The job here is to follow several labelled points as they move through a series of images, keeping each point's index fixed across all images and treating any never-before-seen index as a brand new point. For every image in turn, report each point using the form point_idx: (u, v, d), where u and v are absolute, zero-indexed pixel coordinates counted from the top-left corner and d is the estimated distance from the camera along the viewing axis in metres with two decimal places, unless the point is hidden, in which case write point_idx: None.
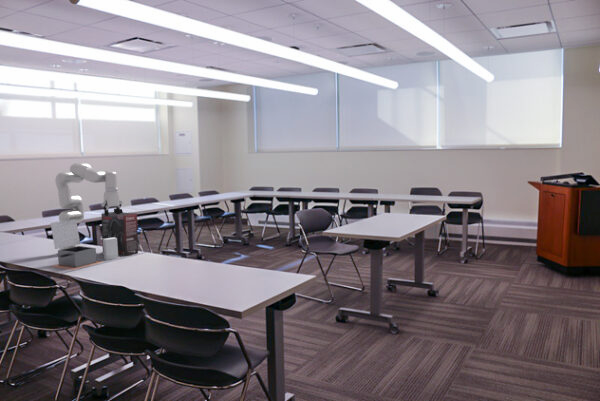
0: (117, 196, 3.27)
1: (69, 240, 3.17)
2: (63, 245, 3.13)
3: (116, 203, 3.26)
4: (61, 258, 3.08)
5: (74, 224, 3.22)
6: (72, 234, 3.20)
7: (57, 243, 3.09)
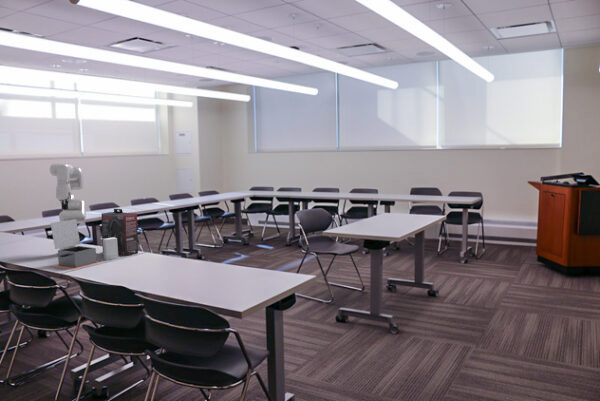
0: None
1: (69, 240, 3.17)
2: (63, 245, 3.13)
3: None
4: (61, 258, 3.08)
5: (74, 224, 3.22)
6: (72, 234, 3.20)
7: (57, 243, 3.09)
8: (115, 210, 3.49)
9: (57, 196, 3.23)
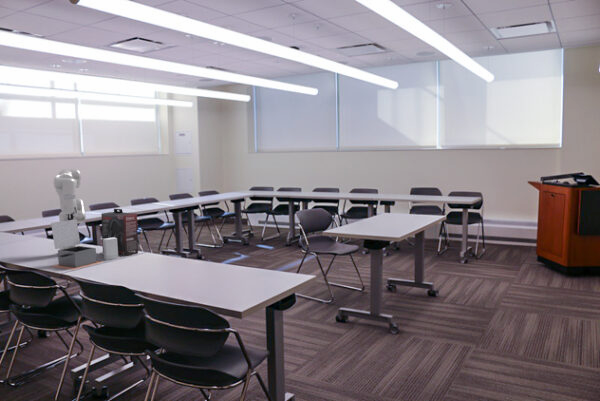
0: None
1: (69, 240, 3.17)
2: (63, 245, 3.13)
3: None
4: (61, 258, 3.08)
5: (74, 224, 3.22)
6: (72, 234, 3.20)
7: (57, 243, 3.09)
8: (115, 210, 3.49)
9: (63, 211, 3.22)
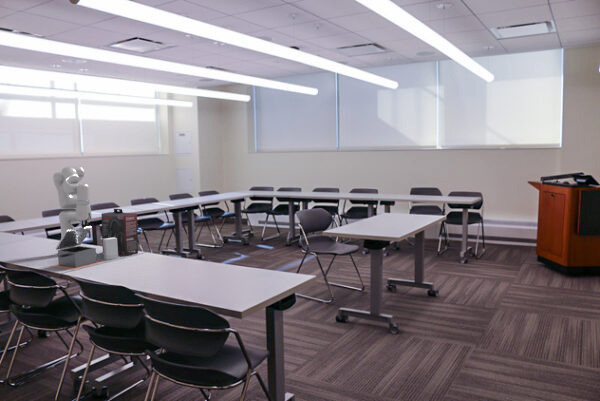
0: None
1: (72, 243, 3.16)
2: (64, 246, 3.12)
3: None
4: (61, 258, 3.08)
5: (86, 231, 3.17)
6: (78, 238, 3.17)
7: (60, 246, 3.08)
8: (115, 210, 3.49)
9: (77, 217, 3.16)
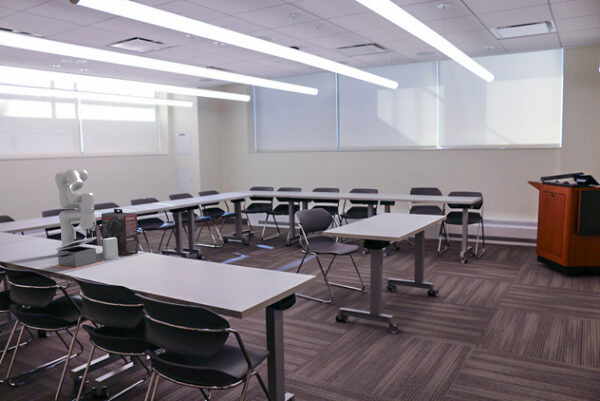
0: None
1: (73, 245, 3.15)
2: None
3: None
4: (61, 258, 3.08)
5: (91, 240, 3.16)
6: (81, 243, 3.17)
7: (61, 248, 3.08)
8: (115, 210, 3.49)
9: (81, 225, 3.15)
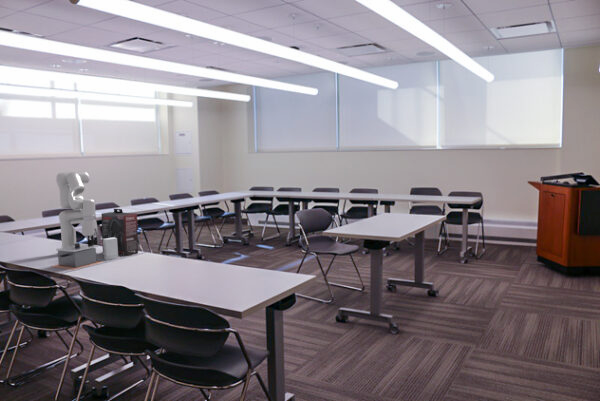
0: None
1: (73, 247, 3.15)
2: (65, 248, 3.12)
3: None
4: (61, 258, 3.08)
5: None
6: None
7: None
8: (115, 210, 3.49)
9: (83, 232, 3.15)
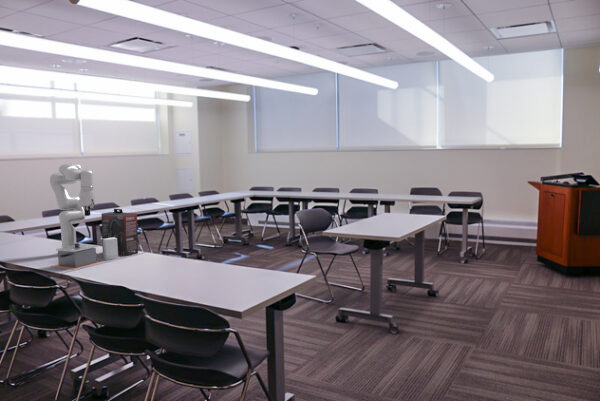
0: None
1: (73, 247, 3.15)
2: (65, 248, 3.12)
3: None
4: (61, 258, 3.08)
5: None
6: None
7: None
8: (115, 210, 3.49)
9: (80, 202, 3.22)
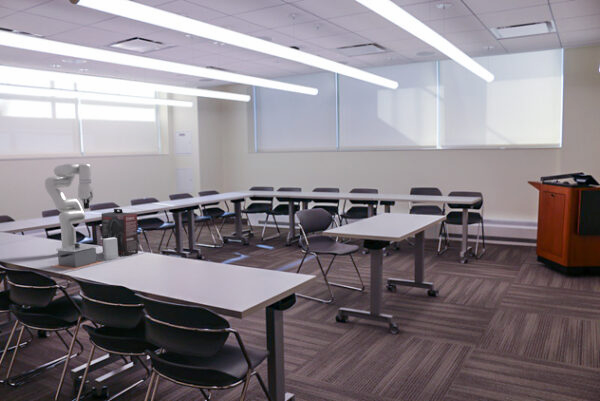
0: None
1: (73, 247, 3.15)
2: (65, 248, 3.12)
3: None
4: (61, 258, 3.08)
5: None
6: None
7: None
8: (115, 210, 3.49)
9: (79, 195, 3.28)
